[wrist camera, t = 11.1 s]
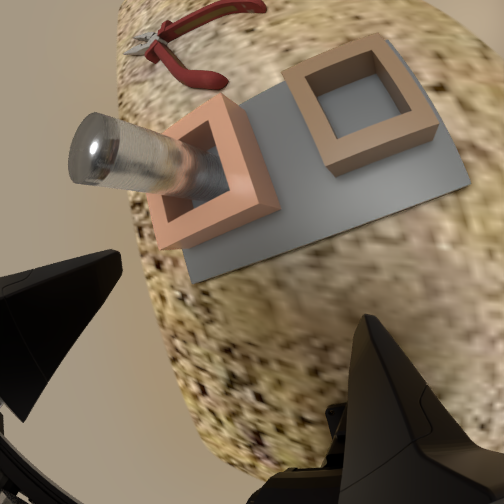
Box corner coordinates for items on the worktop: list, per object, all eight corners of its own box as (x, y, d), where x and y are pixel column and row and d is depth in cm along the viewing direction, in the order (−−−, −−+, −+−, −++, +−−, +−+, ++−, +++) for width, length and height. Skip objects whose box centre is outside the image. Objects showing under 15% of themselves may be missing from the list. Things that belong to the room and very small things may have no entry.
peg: (244, 173, 20) (112, 128, 10) (217, 212, 21) (80, 198, 11) (214, 149, 21) (89, 103, 11) (190, 186, 22) (63, 162, 12)
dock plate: (467, 186, 14) (485, 173, 10) (199, 282, 24) (166, 289, 20) (388, 46, 15) (384, 14, 12) (166, 158, 25) (135, 149, 21)
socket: (281, 209, 19) (258, 203, 16) (189, 248, 23) (159, 250, 20) (245, 110, 20) (220, 92, 17) (167, 159, 24) (138, 151, 20)
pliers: (153, 18, 27) (141, 10, 25) (274, 7, 20) (262, -8, 17) (117, 84, 30) (103, 78, 28) (227, 96, 22) (210, 84, 20)
